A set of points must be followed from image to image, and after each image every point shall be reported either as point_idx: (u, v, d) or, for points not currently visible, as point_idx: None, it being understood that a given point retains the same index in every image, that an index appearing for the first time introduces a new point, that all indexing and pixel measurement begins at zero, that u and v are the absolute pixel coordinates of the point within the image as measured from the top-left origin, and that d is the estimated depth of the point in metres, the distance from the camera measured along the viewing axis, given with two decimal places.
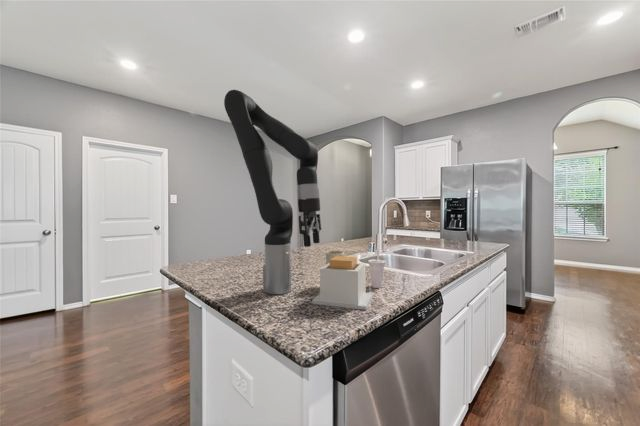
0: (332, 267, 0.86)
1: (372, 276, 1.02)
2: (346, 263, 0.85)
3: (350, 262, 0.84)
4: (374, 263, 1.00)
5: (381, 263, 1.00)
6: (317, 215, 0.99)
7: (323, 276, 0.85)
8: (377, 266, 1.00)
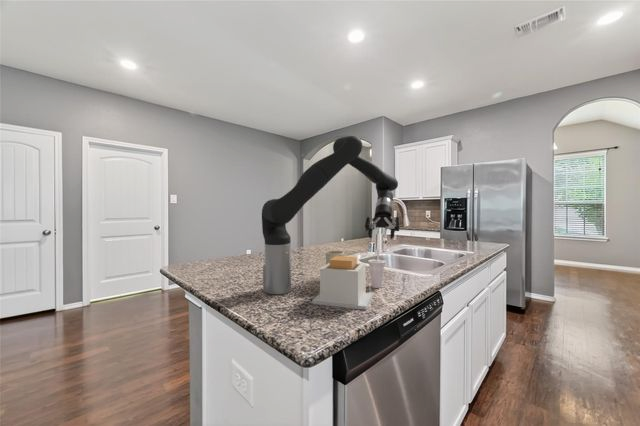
0: (332, 267, 0.86)
1: (372, 276, 1.02)
2: (346, 263, 0.85)
3: (350, 262, 0.84)
4: (374, 263, 1.00)
5: (381, 263, 1.00)
6: None
7: (323, 276, 0.85)
8: (377, 266, 1.00)
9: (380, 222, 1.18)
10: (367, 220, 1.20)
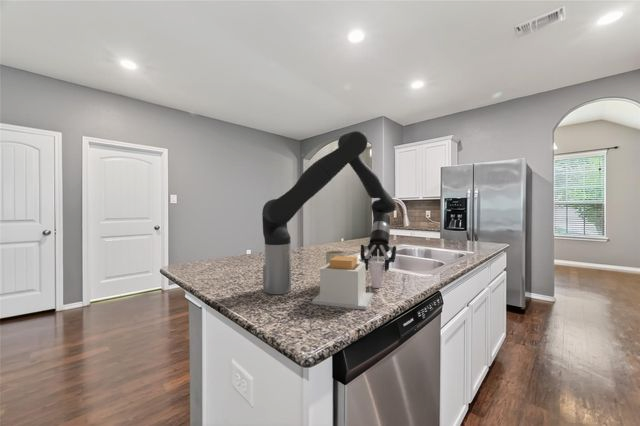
0: (332, 267, 0.86)
1: (372, 276, 1.02)
2: (346, 263, 0.85)
3: (350, 262, 0.84)
4: (374, 263, 1.00)
5: (381, 263, 1.00)
6: None
7: (323, 276, 0.85)
8: (377, 266, 1.00)
9: (376, 250, 1.06)
10: (362, 248, 1.08)
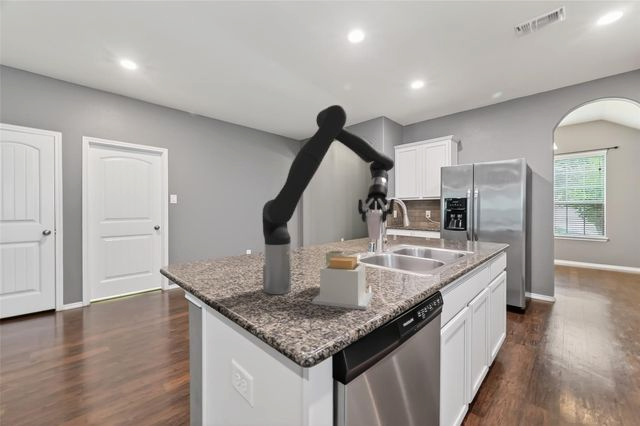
0: (332, 267, 0.86)
1: (370, 227, 1.01)
2: (346, 263, 0.85)
3: (350, 262, 0.84)
4: (372, 214, 0.99)
5: (379, 214, 0.99)
6: None
7: (323, 276, 0.85)
8: (375, 217, 0.99)
9: (374, 203, 1.05)
10: (359, 202, 1.07)
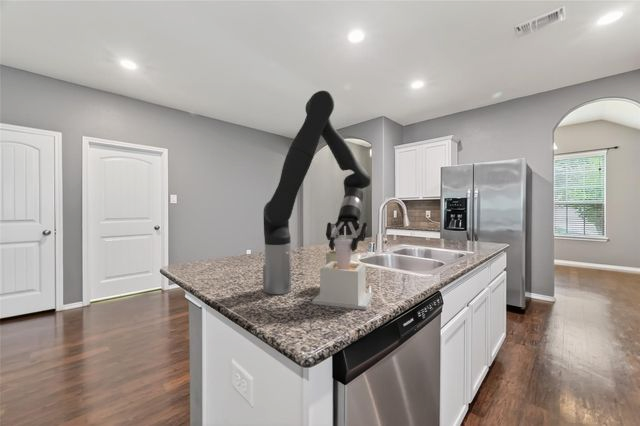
0: None
1: (338, 257, 0.87)
2: None
3: None
4: (339, 241, 0.86)
5: (348, 241, 0.86)
6: None
7: (323, 276, 0.85)
8: (343, 245, 0.86)
9: None
10: (328, 226, 0.94)
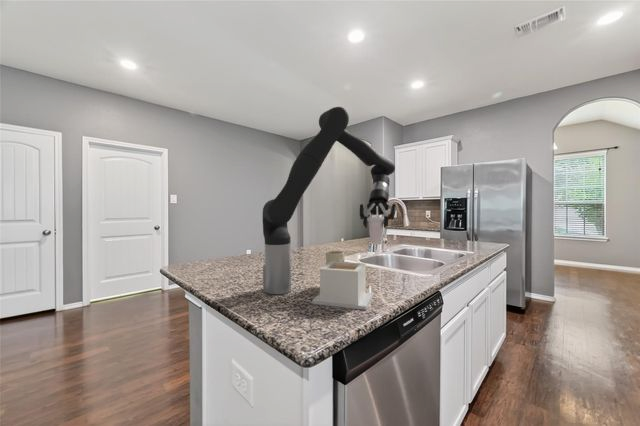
0: None
1: (371, 233, 1.00)
2: None
3: None
4: (373, 219, 0.99)
5: (380, 219, 0.99)
6: None
7: (323, 276, 0.85)
8: (376, 222, 0.99)
9: (375, 208, 1.05)
10: (361, 207, 1.07)
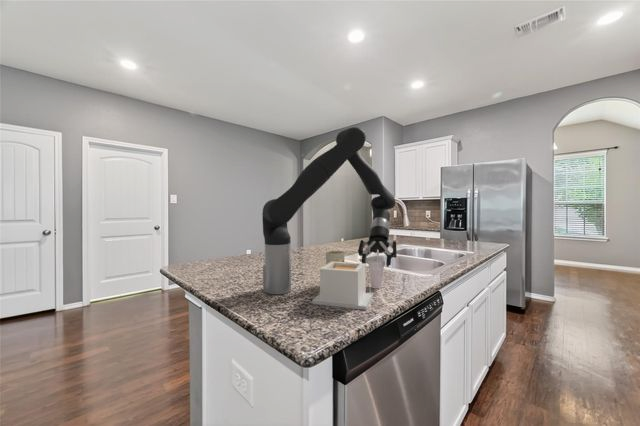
0: None
1: (371, 276, 1.01)
2: None
3: None
4: (374, 263, 0.99)
5: (381, 263, 0.99)
6: None
7: (323, 276, 0.85)
8: (377, 266, 0.99)
9: (375, 247, 1.05)
10: (361, 244, 1.07)
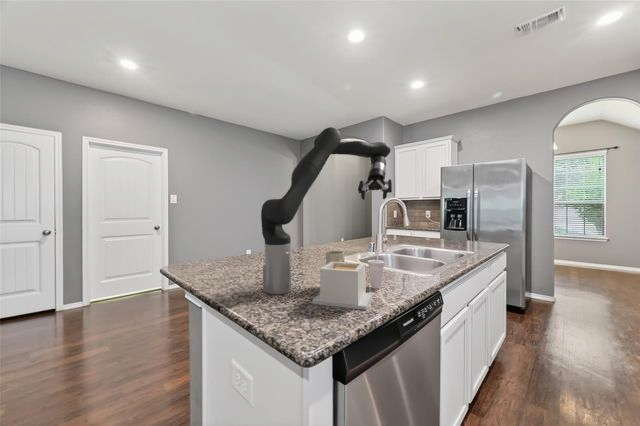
0: None
1: (371, 277, 1.01)
2: None
3: None
4: (373, 263, 0.99)
5: (380, 263, 0.99)
6: None
7: (323, 276, 0.85)
8: (376, 266, 0.99)
9: (373, 184, 1.19)
10: (360, 183, 1.22)
